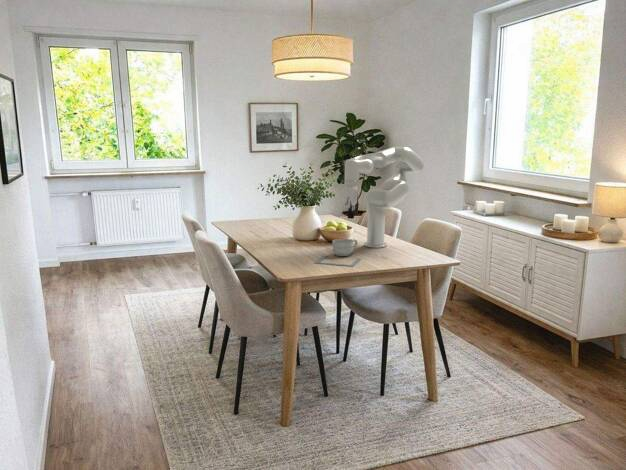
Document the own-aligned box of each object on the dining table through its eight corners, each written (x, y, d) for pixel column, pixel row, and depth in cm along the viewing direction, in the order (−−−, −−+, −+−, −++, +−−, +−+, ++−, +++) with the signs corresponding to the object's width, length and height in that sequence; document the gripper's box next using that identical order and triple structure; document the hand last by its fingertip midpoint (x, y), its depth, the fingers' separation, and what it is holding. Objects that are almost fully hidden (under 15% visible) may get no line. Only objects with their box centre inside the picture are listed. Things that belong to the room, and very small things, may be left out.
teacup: (336, 258, 261) (336, 242, 260) (329, 253, 271) (329, 238, 270) (361, 256, 265) (362, 241, 263) (354, 251, 275) (354, 237, 274)
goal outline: (323, 255, 266) (323, 255, 266) (361, 259, 259) (361, 258, 259) (313, 263, 251) (313, 262, 251) (353, 266, 245) (353, 266, 245)
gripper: (348, 182, 279) (347, 215, 282) (340, 184, 265) (340, 220, 268) (362, 182, 277) (361, 216, 280) (355, 185, 263) (354, 220, 266)
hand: (350, 218), depth 274 cm, fingers closed
